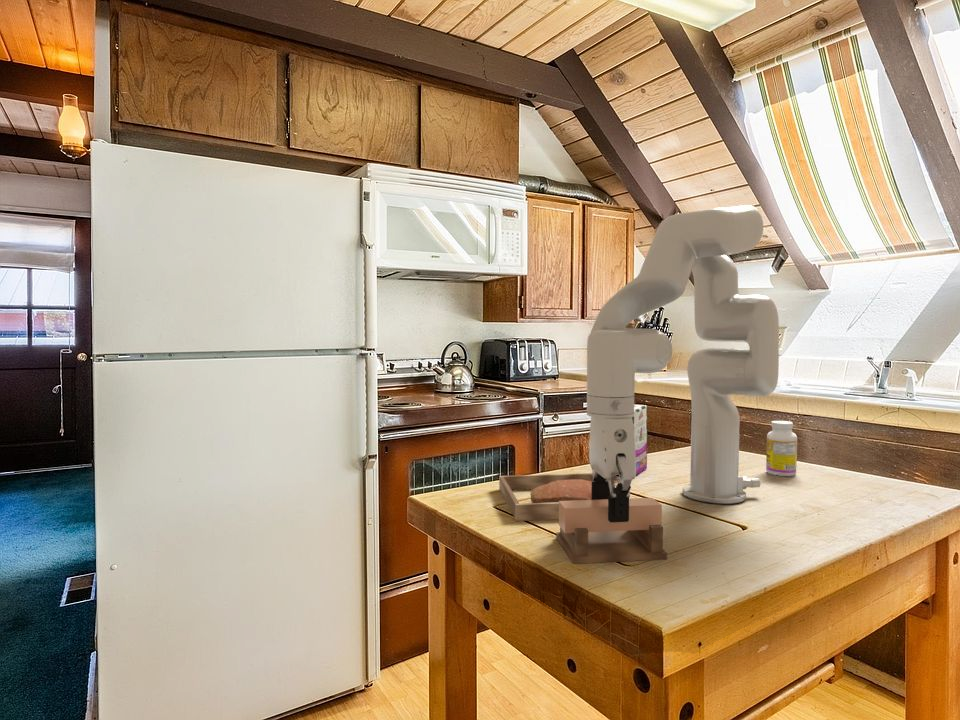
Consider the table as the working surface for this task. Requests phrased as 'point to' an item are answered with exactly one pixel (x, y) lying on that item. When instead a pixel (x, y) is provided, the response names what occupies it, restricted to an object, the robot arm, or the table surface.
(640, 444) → the candy bar box
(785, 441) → the supplement bottle
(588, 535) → the rack
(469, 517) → the table surface
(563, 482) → the ceramic shard
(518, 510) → the low wooden frame
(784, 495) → the table surface
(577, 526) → the tan pink long block
